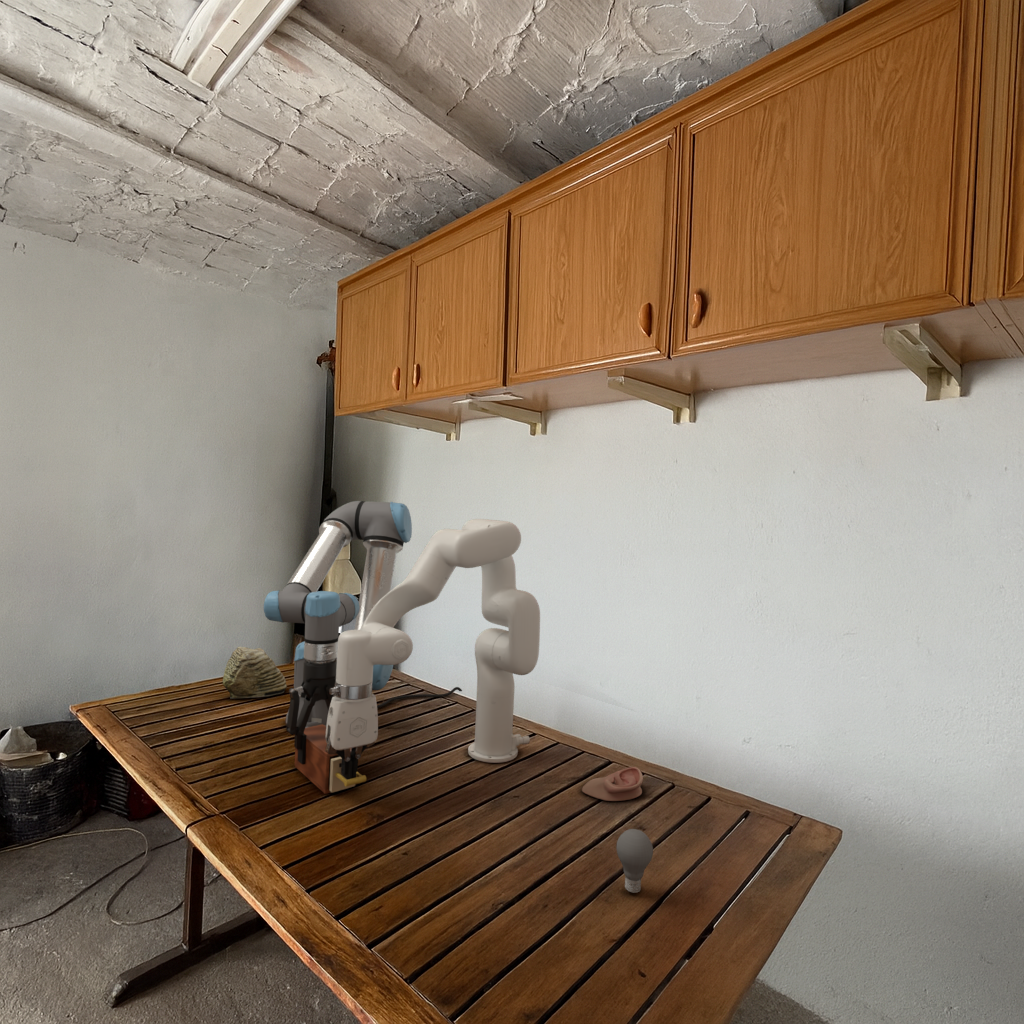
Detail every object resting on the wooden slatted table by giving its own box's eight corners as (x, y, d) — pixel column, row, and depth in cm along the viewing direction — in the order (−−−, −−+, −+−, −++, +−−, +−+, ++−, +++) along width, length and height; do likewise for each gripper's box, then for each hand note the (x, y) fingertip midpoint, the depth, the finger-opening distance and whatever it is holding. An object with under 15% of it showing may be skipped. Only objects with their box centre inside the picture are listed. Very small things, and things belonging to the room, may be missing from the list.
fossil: (218, 695, 195) (220, 647, 195) (278, 685, 208) (279, 640, 207) (228, 703, 189) (230, 653, 188) (289, 692, 201) (290, 645, 201)
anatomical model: (581, 779, 138) (585, 758, 149) (580, 797, 138) (585, 775, 149) (643, 787, 135) (643, 766, 147) (642, 806, 136) (642, 783, 147)
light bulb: (610, 879, 108) (613, 822, 108) (644, 879, 109) (647, 822, 109) (619, 902, 102) (622, 840, 102) (655, 901, 103) (658, 840, 103)
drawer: (367, 796, 133) (369, 764, 133) (343, 803, 130) (345, 770, 129) (324, 760, 150) (325, 732, 149) (302, 766, 146) (303, 737, 146)
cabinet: (353, 786, 139) (355, 747, 139) (325, 794, 135) (326, 754, 135) (321, 759, 152) (322, 724, 152) (294, 766, 148) (295, 729, 148)
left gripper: (284, 669, 137) (280, 774, 137) (367, 657, 149) (363, 754, 150) (272, 661, 142) (268, 762, 143) (352, 650, 155) (348, 744, 156)
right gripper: (327, 700, 125) (322, 792, 125) (394, 689, 135) (389, 775, 135) (312, 690, 131) (307, 778, 131) (377, 680, 141) (372, 763, 141)
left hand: (316, 758), depth 146 cm, fingers closed on cabinet, 7 cm apart
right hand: (348, 776), depth 133 cm, fingers closed
